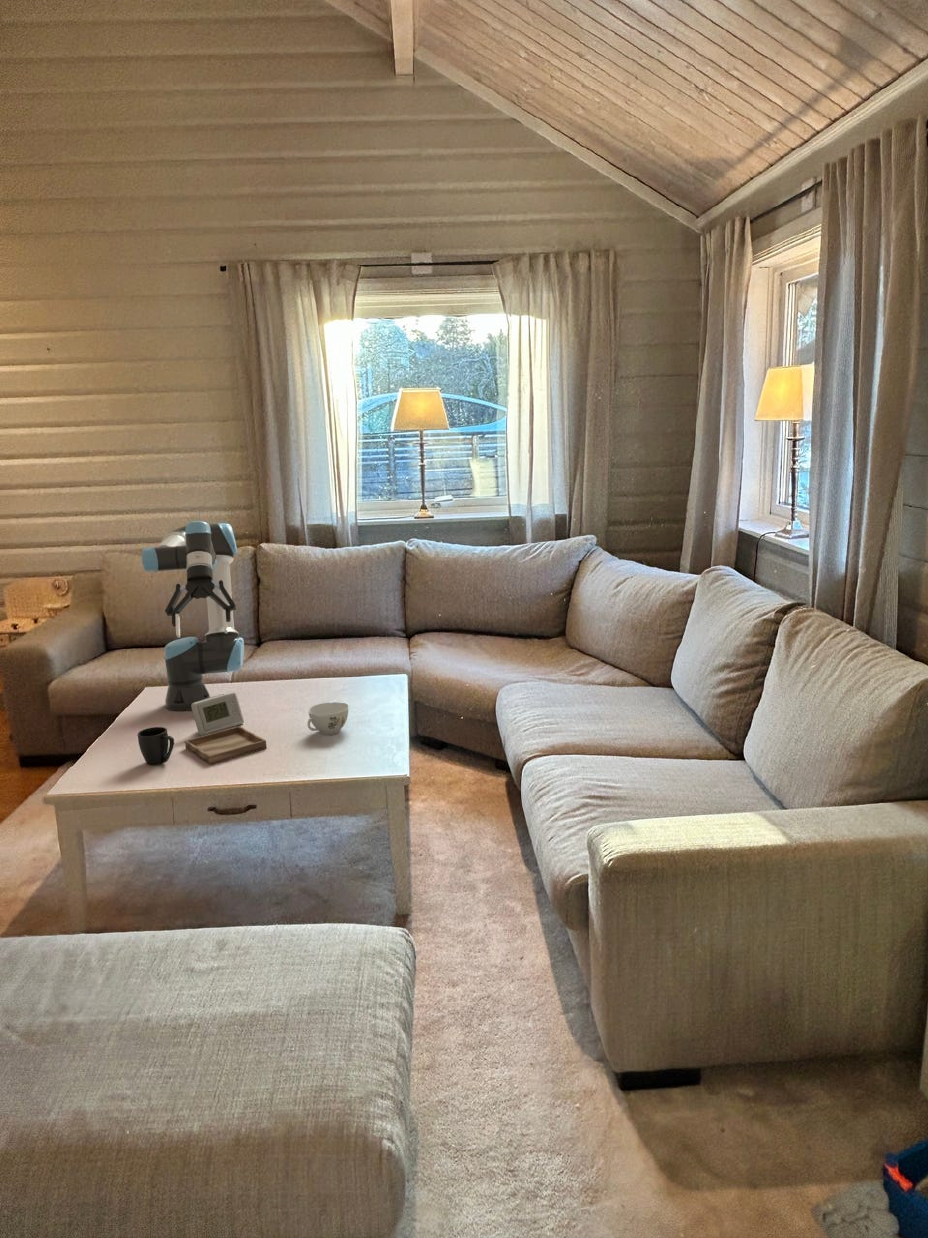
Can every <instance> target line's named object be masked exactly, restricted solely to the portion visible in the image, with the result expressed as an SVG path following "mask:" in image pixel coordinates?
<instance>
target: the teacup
mask: <svg viewBox="0 0 928 1238" xmlns="http://www.w3.org/2000/svg"><path fill="white" fill-rule="evenodd" d="M308 716H309V718H308V720H307V728H308V730H310V731H312V732H314V731H319V732H320V733H321V734H322V735H327V736H329V735H330V736H331V735H335V734H338V733H340V732H341V730H342V728H343V727H344V726H345V724H346V722H347V720H348V716H349V705H348V703H346V702H345V703H344V702H334V701H333V702H322V703H318V704H315V705H313V706H311V707H309V708H308ZM311 723H312V725H313V727H314V728H313V727H311Z"/></svg>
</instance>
